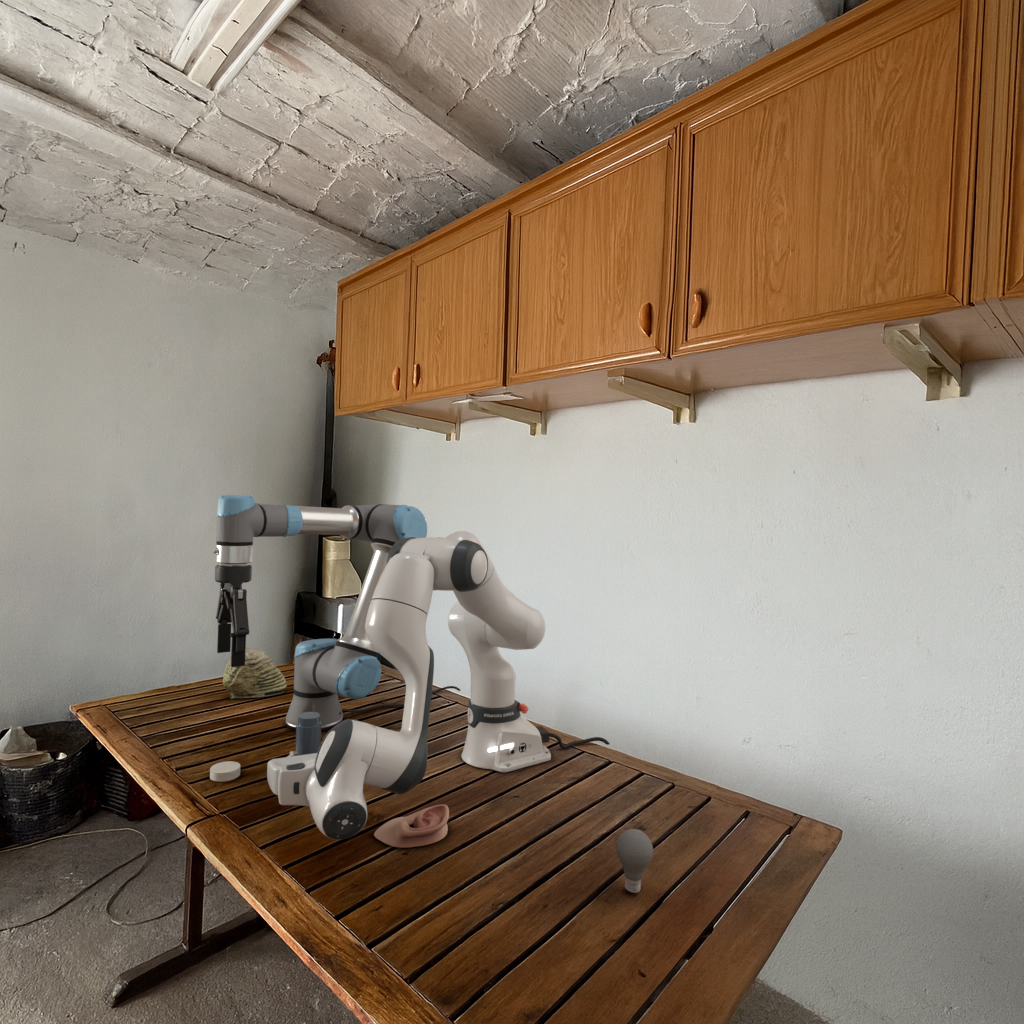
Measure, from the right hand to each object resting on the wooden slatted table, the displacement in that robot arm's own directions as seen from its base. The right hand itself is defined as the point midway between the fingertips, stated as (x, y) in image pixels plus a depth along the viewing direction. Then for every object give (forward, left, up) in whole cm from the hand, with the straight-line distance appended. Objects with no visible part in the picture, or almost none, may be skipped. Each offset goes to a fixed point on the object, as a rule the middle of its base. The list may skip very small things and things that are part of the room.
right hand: (317, 751), depth 129 cm
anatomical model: (-15, +17, -12) cm, 26 cm away
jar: (0, -11, -12) cm, 16 cm away
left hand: (+16, -22, +15) cm, 31 cm away
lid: (+16, -21, -10) cm, 29 cm away
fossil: (+7, -79, -12) cm, 81 cm away
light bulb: (-44, +47, -12) cm, 66 cm away
